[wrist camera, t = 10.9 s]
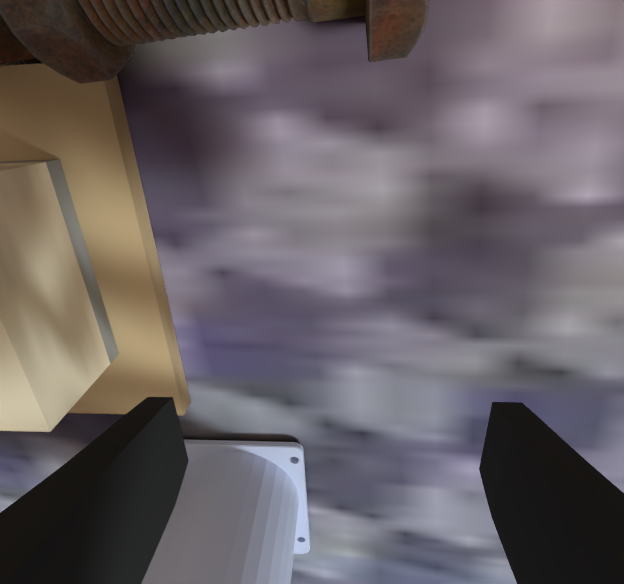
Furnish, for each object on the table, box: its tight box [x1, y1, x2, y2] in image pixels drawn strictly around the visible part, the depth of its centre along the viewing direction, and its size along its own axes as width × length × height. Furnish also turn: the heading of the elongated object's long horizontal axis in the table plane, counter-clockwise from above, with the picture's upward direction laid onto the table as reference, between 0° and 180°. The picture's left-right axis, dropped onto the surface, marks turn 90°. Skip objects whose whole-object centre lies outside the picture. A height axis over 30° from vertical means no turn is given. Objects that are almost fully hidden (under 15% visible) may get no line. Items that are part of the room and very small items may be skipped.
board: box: [0, 63, 191, 415], centre depth 18 cm, size 16×10×1 cm, turn 3°
